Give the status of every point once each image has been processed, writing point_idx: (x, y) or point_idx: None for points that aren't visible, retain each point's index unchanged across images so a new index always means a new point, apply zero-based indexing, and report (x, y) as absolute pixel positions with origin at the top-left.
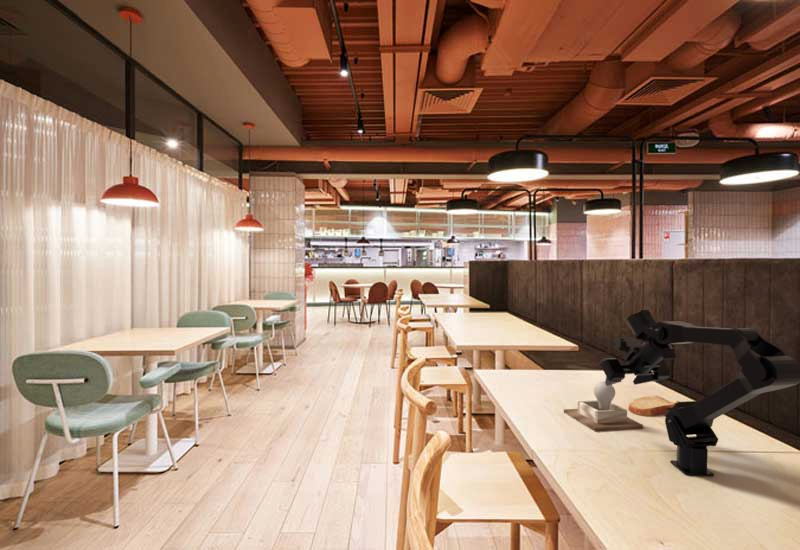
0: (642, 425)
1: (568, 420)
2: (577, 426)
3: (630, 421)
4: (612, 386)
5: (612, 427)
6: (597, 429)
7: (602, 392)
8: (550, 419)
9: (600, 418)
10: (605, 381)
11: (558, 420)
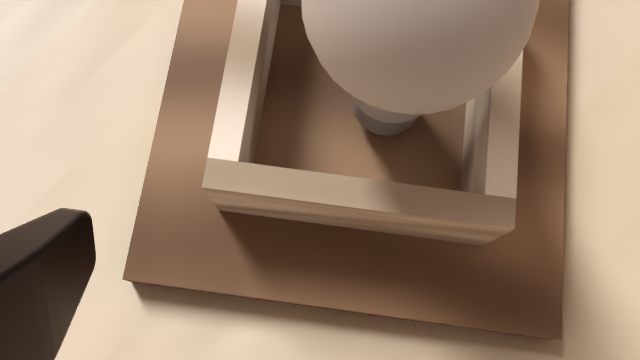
0: (555, 338)
1: (119, 55)
2: (87, 167)
3: (515, 250)
4: (490, 24)
5: (281, 301)
6: (152, 283)
7: (326, 49)
8: (10, 6)
9: (241, 204)
10: (29, 227)
11: (49, 36)
